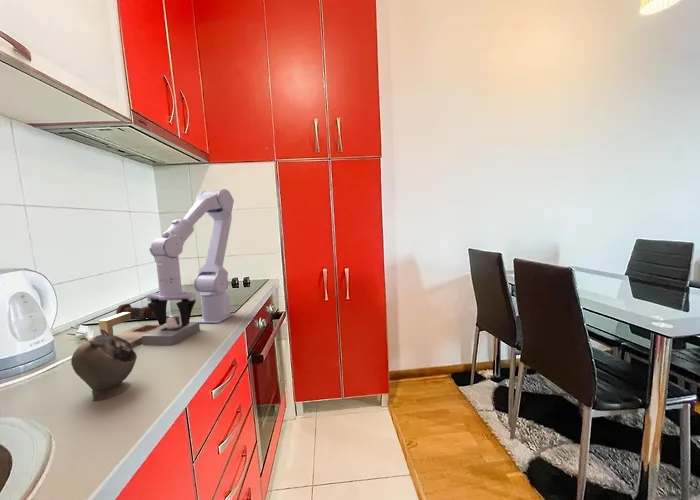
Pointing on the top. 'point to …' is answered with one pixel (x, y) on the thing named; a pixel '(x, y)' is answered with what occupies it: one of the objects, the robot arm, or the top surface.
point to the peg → (173, 322)
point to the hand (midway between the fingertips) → (174, 324)
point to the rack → (170, 335)
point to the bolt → (136, 311)
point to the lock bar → (113, 322)
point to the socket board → (137, 333)
